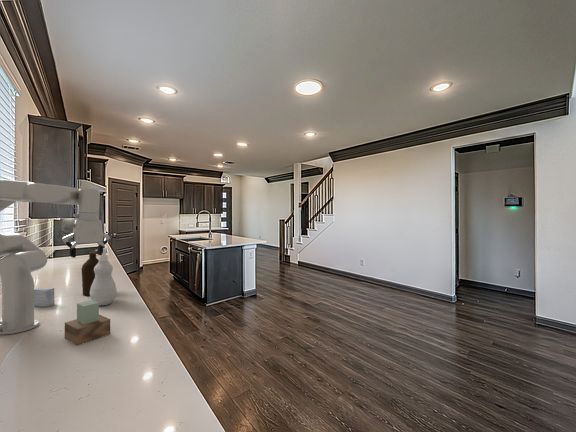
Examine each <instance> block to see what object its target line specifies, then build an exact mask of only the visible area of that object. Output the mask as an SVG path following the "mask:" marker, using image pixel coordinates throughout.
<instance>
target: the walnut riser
mask: <svg viewBox="0 0 576 432" xmlns="http://www.w3.org/2000/svg"><path fill="white" fill-rule="evenodd" d="M108 334H109V335H111V318H108V317H106V316H104V315H101V314H99V320H98V321H95V322H92V323H88V324H85V325H83V324H81V323H79V322H77V318H76V319H73V320H69V321H65V322H64V339H65V340H67V341H68V342H70V343H72V344H74V345H76V347H77V346H81V345H83V343H84V344H87V343H89V342H92V341H95V340H98V339H100V337H101V338H103V337H102V336H104V337H106V336H105V335H107V336H109V335H108ZM97 338H98V339H97ZM94 339H95V340H94ZM91 340H92V341H91ZM88 341H89V342H88ZM86 342H87V343H86Z"/></svg>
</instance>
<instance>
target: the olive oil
mask: <svg viewBox="0 0 576 432" xmlns="http://www.w3.org/2000/svg"><path fill="white" fill-rule="evenodd" d="M98 262H99V258H97V251H89V255H88V259H87V260H86V261H85V262H84V263H83V264H82V266H81V282H82V284H81V287H82V296H84V297H90V289H91V286H92V283H93V281H94V279H95V272H94V267H95V266H96V265H97V264H98Z"/></svg>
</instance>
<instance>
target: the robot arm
mask: <svg viewBox="0 0 576 432" xmlns="http://www.w3.org/2000/svg"><path fill="white" fill-rule="evenodd" d="M100 195H101V192H100V190H99V189H97V188H88V187H81V188H78V187H71V186H67V185H59V184H49V183H48V184H47V183H38V182H37V183H36V182H32V181H22V180H13V179H12V180H11V179H2V178H1V179H0V213H1V212H2V211H4V210H6V209H7V208H9V207H10V206H11V205H13V204H14V203H16V202H22V203H44V204H45V203H46V204H54V205H55V204H57V205H72V206H74V205H77V212H76V213H73V215H72V217H74V218H76V219H75V220H74V225H73V229H72V233H70V234H68V235H66V236H63V237H62V238H61V240H62V241H63V242H64V245H66V247H68V248H69V256H70V257H71V258H74V259H75V258H76V257H77V248H76V246H78V245H79V244H98V245H97V249H96V250H97V251H96V256H99V255H102V253H103V248H104V247H105V245H106V244H107V243H108V242H109V240H110V239H111V236H110V235H108V234H106V233H104V232H103V231H104V230H103V223H102V220H101V219H100ZM70 239H71V240H72V241H71V242H70V241H69V240H70ZM103 239H104V240H103ZM0 257H2V258H1V259H0V282H1V284H0V285H1V319H0V335H3V336H5V335H12V334H19V333H23V332H27V331H29V330H32V329H34V328H36V327H38V326H39V325H40V320H39V319H35V306H34V290H35V282H34V278H33V275H32V273H33V272H36V271H39V270H41V269H43V268H44V267H45V266H46V265H47V263H48V256H47V254H46V253H45V252H44V251H43V250H42V249H41V248H40V247H38V245H36V244H34V242H32V241H31V240H30V239H28V238H27V237H26V236H24V235H22V234H20V233H17V232H7V233H6V232H5V233H2V232H0Z"/></svg>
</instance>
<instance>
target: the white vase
mask: <svg viewBox="0 0 576 432" xmlns="http://www.w3.org/2000/svg"><path fill="white" fill-rule="evenodd" d="M108 249H109V248H108V247H103V253H102V255H98V260H99V262H98V264H97V265H96V266H95V267H94V272H95V279H94V281H93V283H92V286H91V289H90V296H89V297H90V300H93V301H96V302H98V303H99V307H100V306H101V305H102V306H107V305H110V304H112V303H113V302H114V300H115V298H116V294H117V286H116V283H115V281H114V279H113V276H112V273H113V269H114V267H113V265H112V264H111V263H110V262H109V260H108V259H109V255H108V254H107V250H108ZM94 252H97V249H95V251H94ZM102 306H101V307H102Z"/></svg>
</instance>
